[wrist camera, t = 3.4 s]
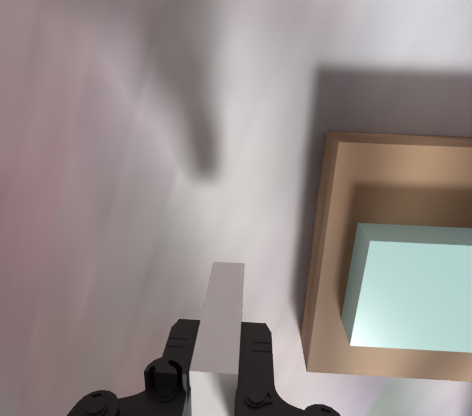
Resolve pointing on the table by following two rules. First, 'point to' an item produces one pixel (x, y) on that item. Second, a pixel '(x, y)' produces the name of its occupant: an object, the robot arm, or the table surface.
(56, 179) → the table surface
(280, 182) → the table surface
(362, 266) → the mint green block
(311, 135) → the table surface
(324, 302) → the tan flat square slab
